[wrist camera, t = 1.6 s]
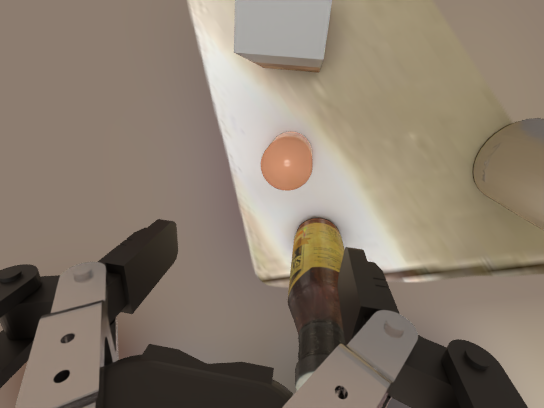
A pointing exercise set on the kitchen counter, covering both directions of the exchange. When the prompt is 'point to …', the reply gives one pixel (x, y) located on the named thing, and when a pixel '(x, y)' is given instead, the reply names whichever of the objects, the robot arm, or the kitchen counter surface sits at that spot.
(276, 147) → the clay cylinder
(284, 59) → the slate block
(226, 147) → the kitchen counter surface
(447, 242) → the kitchen counter surface
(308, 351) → the sauce bottle
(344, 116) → the kitchen counter surface
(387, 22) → the kitchen counter surface
